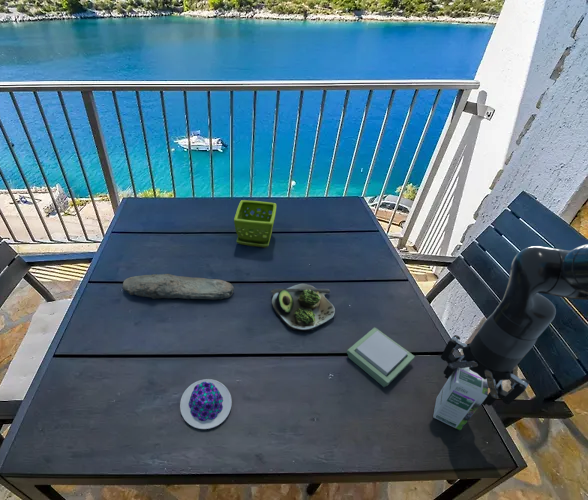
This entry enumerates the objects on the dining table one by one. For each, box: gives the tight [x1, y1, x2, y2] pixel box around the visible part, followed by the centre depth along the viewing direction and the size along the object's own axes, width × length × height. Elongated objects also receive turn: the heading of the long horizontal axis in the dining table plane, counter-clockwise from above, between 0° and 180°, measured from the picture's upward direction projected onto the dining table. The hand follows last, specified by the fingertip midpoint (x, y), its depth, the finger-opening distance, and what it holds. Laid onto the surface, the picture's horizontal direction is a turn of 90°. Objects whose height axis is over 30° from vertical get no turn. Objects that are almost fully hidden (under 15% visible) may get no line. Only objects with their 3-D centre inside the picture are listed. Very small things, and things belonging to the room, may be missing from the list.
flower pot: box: [233, 199, 277, 249], centre depth 128 cm, size 14×14×13 cm
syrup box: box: [432, 367, 489, 431], centre depth 75 cm, size 6×6×14 cm
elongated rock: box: [121, 273, 235, 300], centre depth 109 cm, size 35×5×10 cm
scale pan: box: [355, 331, 408, 376], centre depth 89 cm, size 9×9×2 cm
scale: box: [346, 326, 416, 388], centre depth 90 cm, size 12×12×3 cm
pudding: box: [179, 378, 233, 430], centre depth 80 cm, size 12×12×5 cm
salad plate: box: [269, 283, 336, 332], centre depth 104 cm, size 19×18×5 cm
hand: (465, 388), depth 73 cm, fingers closed on syrup box, 7 cm apart
